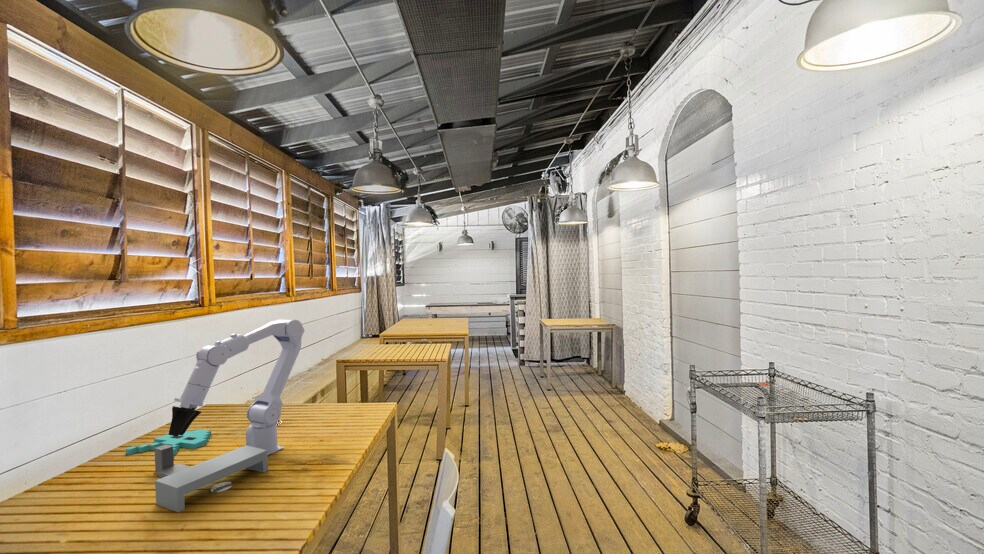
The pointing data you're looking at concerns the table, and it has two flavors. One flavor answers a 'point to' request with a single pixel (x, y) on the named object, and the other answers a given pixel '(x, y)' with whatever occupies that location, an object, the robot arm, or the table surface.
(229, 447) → the table surface
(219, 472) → the grey bench
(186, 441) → the alien figure
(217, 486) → the steel disc
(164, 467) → the scraper
